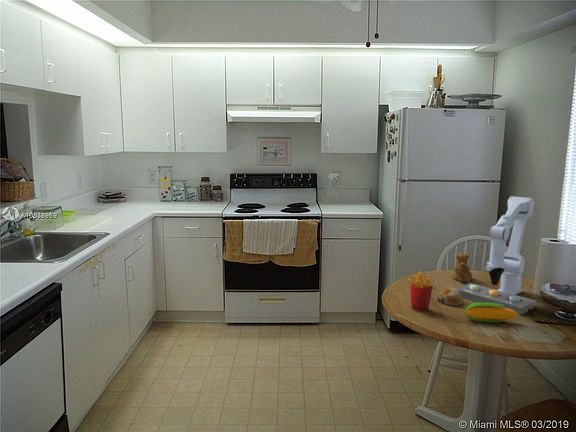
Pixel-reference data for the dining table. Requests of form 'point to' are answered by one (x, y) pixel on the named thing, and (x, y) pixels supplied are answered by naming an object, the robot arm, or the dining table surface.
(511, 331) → the dining table surface
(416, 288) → the french fries
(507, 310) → the corn
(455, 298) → the bread roll
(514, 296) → the blue button
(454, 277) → the stuffed squirrel
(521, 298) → the button console
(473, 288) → the green button
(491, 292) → the orange button
